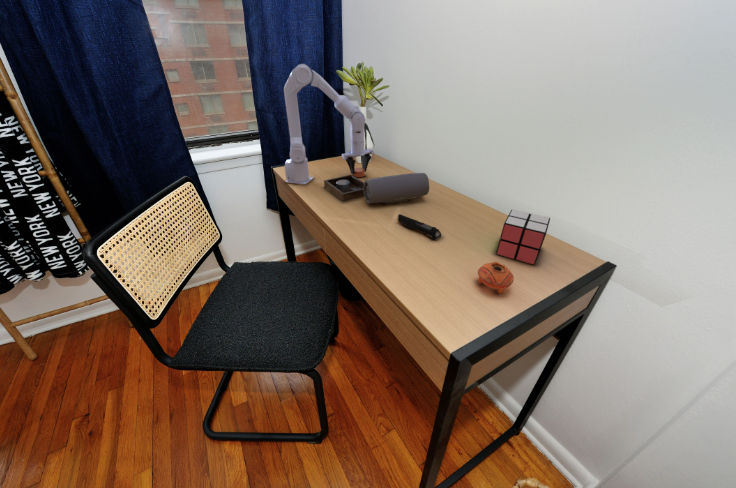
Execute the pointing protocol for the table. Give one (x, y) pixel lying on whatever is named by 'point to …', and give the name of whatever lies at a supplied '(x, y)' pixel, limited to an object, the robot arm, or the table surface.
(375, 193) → the bluetooth speaker
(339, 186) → the gray and black puck
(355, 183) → the dark brown tray
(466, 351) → the table surface
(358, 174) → the terracotta coaster
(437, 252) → the table surface
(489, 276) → the pot
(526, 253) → the puzzle cube
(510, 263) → the table surface
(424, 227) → the electric trimmer
